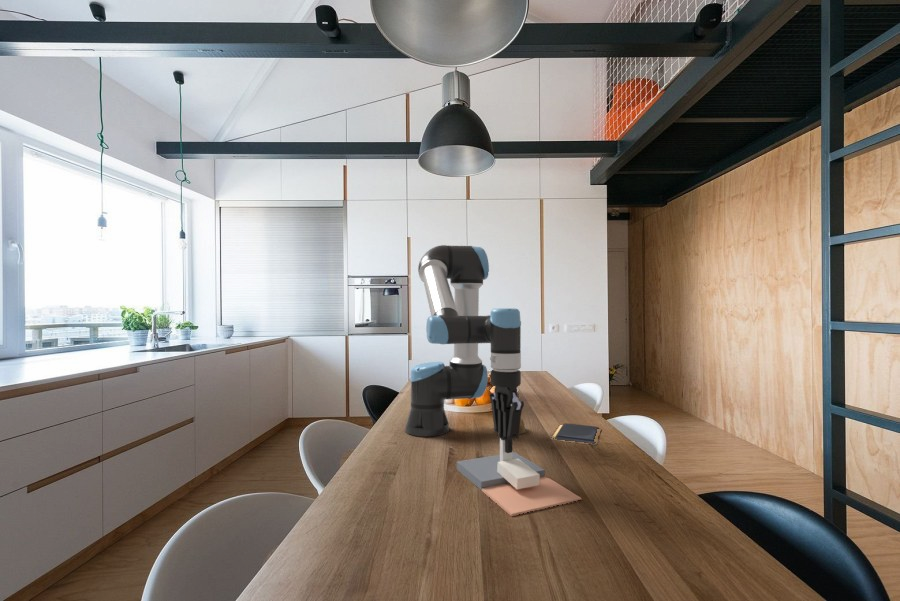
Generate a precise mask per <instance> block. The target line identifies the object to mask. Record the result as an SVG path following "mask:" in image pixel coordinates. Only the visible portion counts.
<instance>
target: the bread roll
mask: <svg viewBox="0 0 900 601" xmlns="http://www.w3.org/2000/svg"><path fill="white" fill-rule="evenodd" d="M525 427H526V426H525V422H524V419H523V418H522V417H521V419H520V426H519V434H518V435H521V434H525V433H526V432H527V431H526V429H525Z"/></svg>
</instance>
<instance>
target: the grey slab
mask: <svg viewBox="0 0 900 601" xmlns="http://www.w3.org/2000/svg"><path fill="white" fill-rule="evenodd" d="M512 459H520V460H521V461H522V462H524V463H525V464H526V465H528V466H529V467H530V468H532V469H533V470H534V471H536V472H537V473H538V474H540V477H544V476H546V469H544V468H543V467H542V466H541V467H540V465H538V464H536V463H534V462H532V461H531V460H529V459H527V458H525V457H524V456H522V455H521V454H520V453H517V452H514V451H512ZM498 462H500V454H497V455H496V454H495V455H489V456H484V457H483V456H482V457H477V458H471V459H464V460H457V461H456V471H458V472H459V473H461V475H463V476H464V477H465V478H466V479H467V480H468V481H470V482H471V483H472V484H473V485H474V486H476V488H478V489H479V490H480V491H482V488H487V487H492V486H498V485H503V484H508V483H509V482H508V481H507V480H506V479H505V478H504V477H502V476H501V475H500V474H499V473H498V472H497V465H498Z"/></svg>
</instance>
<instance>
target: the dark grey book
mask: <svg viewBox="0 0 900 601" xmlns="http://www.w3.org/2000/svg"><path fill="white" fill-rule="evenodd" d="M562 424H563V425H560V426H559V425H558V426H559V427H558V426H557V427H558V429H557V428H556V429H557V430H556V429H555V430H556V432H555V431H554V432H555V433H554V432H553V433H554V435H553V434H552V435H553V437H555V439H557V440H565V441H575V442H584V443H592V444H595V443H596V442H594V439H595V436H596V433H597V429H600V428H599V427H598V426H594V425H585V424H575V423H566V422H565V423H562ZM550 438H552V437H551V436H550ZM553 439H554V438H553Z"/></svg>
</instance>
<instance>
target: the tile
mask: <svg viewBox="0 0 900 601" xmlns="http://www.w3.org/2000/svg"><path fill="white" fill-rule="evenodd" d="M497 472H498V473H499V474H500V475H501V476H502V477H504V478H505V479H506V480H507V481H508V482H509V483H510V484H511V485H513V486H514V487H515V488H516V489H522V488H527V487H532V486H537V485H539V479H540V474H538V473H537V472H536V471H534V470H533V469H532V468H530V467H529V466H528V465H526V464H525V463H524V462H522V461H521V460H520V459H512V460H506V461H500V462H498V465H497Z"/></svg>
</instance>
